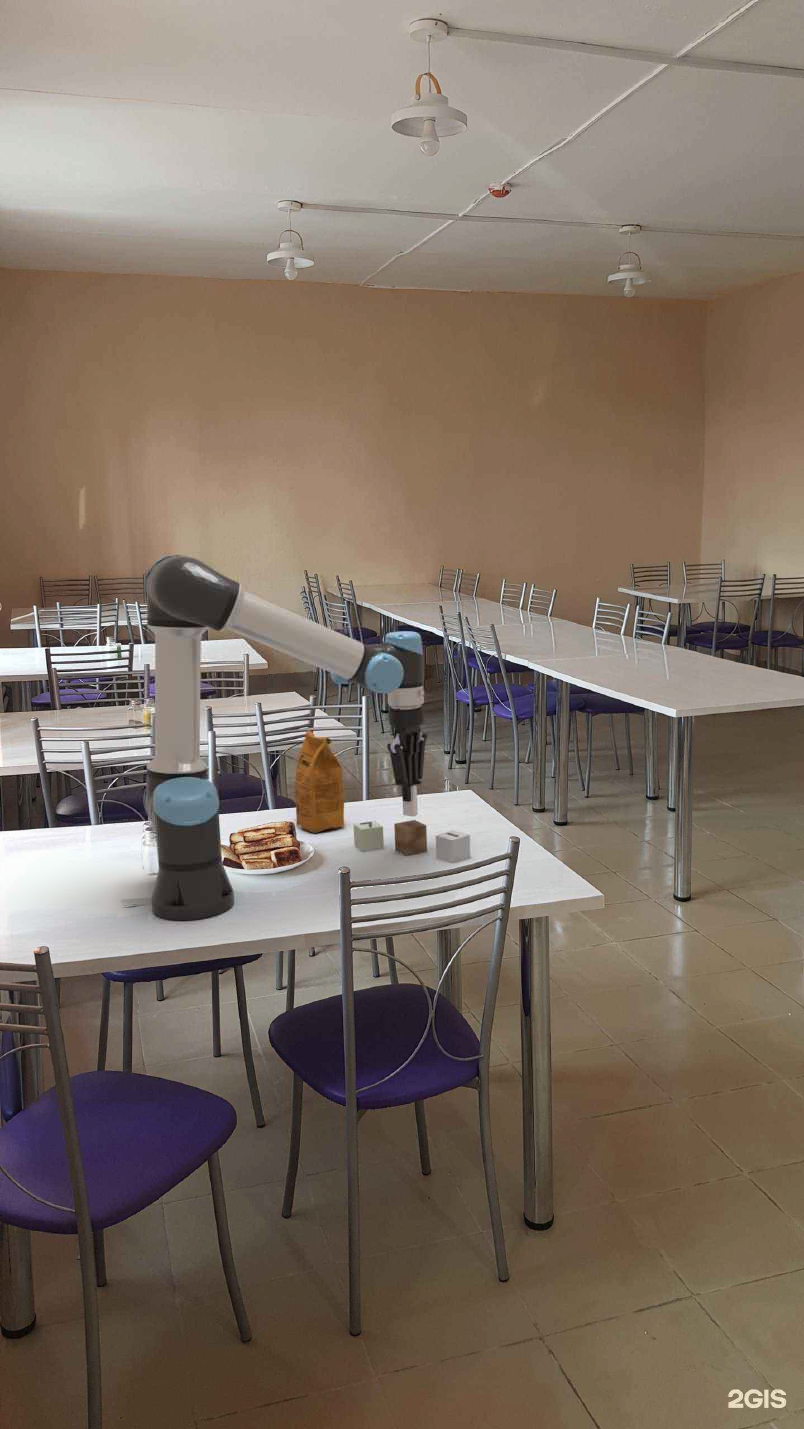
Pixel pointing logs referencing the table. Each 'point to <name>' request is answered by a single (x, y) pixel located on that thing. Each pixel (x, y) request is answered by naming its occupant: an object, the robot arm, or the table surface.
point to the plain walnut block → (410, 838)
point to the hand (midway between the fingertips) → (410, 814)
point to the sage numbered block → (368, 836)
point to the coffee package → (318, 786)
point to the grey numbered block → (453, 846)
